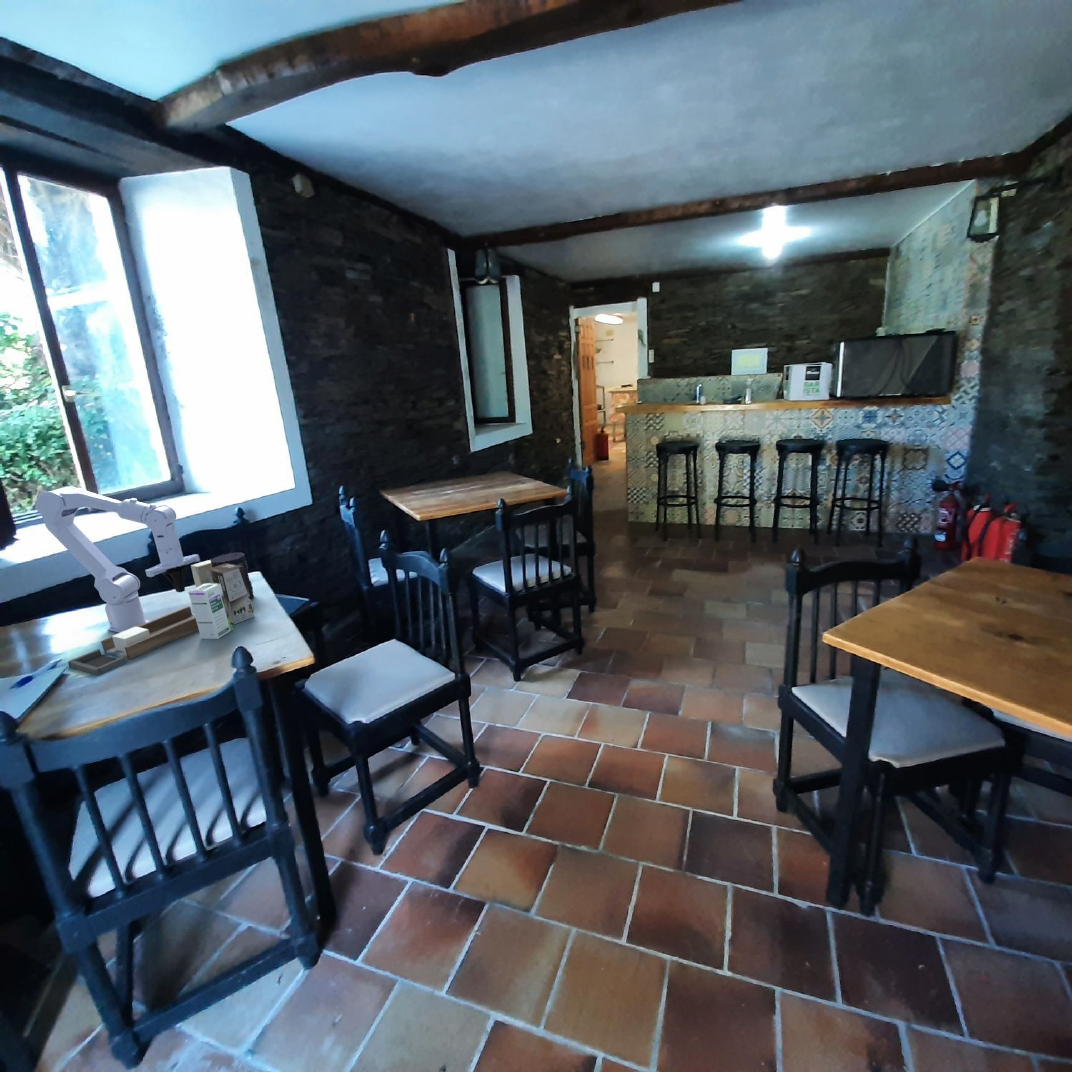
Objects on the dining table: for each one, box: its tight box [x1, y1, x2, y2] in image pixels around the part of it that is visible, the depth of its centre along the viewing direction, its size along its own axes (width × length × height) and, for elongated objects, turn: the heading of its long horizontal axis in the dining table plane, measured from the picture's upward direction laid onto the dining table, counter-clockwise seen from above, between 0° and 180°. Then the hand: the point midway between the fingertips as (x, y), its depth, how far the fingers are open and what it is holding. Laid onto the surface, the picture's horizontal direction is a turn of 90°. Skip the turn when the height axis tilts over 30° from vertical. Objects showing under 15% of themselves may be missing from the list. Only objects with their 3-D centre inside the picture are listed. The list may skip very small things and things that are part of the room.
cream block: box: [111, 627, 150, 652], centre depth 149 cm, size 6×6×4 cm
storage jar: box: [210, 551, 255, 601], centre depth 178 cm, size 10×10×15 cm
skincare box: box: [190, 559, 212, 588], centre depth 182 cm, size 6×4×12 cm
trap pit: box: [67, 648, 128, 676], centre depth 142 cm, size 13×7×2 cm, turn 64°
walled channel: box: [100, 605, 199, 661], centre depth 156 cm, size 12×24×4 cm, turn 154°
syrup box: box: [187, 583, 234, 640], centre depth 153 cm, size 6×6×14 cm
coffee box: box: [207, 563, 255, 625], centre depth 163 cm, size 9×6×16 cm
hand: (180, 591), depth 164 cm, fingers closed
